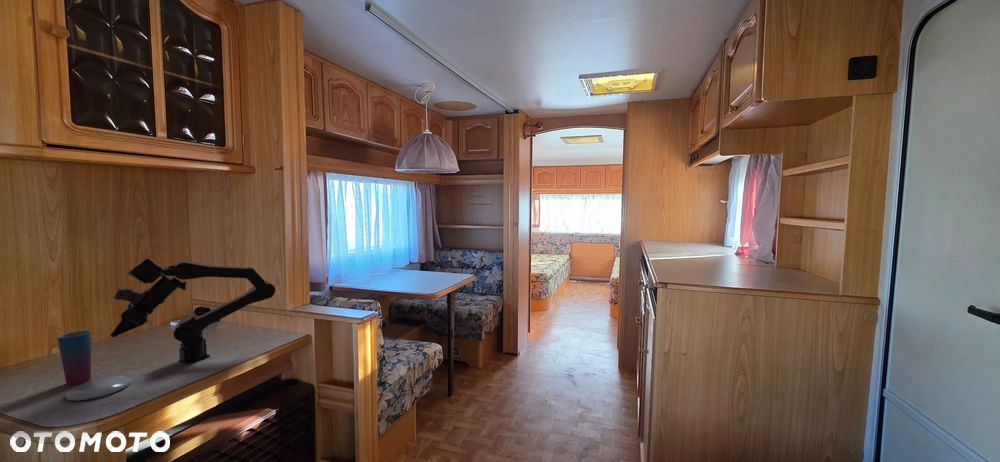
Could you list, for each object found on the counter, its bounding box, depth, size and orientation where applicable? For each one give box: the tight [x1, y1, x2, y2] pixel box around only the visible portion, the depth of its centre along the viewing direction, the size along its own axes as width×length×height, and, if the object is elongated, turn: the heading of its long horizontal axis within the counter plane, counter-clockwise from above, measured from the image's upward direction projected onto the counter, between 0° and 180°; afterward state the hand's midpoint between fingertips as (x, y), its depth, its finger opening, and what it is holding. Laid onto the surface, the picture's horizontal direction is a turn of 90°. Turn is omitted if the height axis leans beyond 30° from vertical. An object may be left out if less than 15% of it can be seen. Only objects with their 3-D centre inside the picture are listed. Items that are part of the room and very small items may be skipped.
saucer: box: [65, 375, 132, 402], centre depth 111 cm, size 13×13×1 cm
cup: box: [57, 329, 92, 387], centre depth 116 cm, size 7×7×15 cm
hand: (114, 332), depth 120 cm, fingers open, 9 cm apart
